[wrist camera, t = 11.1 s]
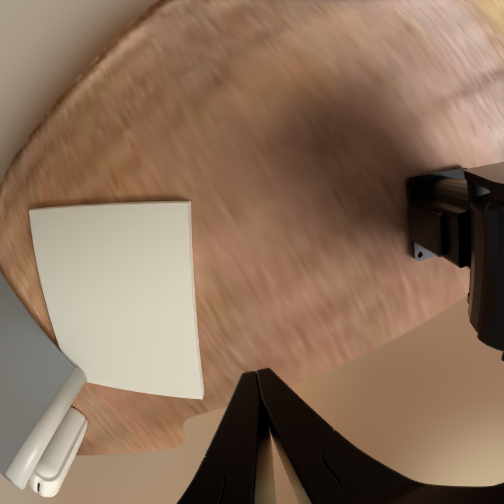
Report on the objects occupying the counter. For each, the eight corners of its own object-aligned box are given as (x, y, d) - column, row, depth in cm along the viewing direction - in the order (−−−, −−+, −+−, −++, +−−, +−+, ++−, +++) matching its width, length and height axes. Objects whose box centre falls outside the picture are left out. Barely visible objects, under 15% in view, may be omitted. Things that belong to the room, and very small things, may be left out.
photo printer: (80, 445, 29) (52, 507, 17) (56, 430, 29) (23, 489, 17) (92, 418, 27) (55, 494, 15) (63, 398, 26) (19, 470, 14)
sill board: (190, 200, 19) (187, 202, 18) (204, 391, 24) (202, 399, 23) (36, 208, 19) (28, 210, 18) (75, 372, 24) (71, 378, 23)
